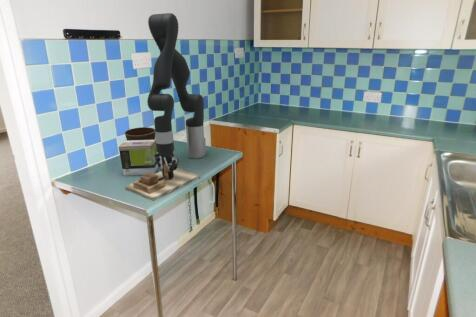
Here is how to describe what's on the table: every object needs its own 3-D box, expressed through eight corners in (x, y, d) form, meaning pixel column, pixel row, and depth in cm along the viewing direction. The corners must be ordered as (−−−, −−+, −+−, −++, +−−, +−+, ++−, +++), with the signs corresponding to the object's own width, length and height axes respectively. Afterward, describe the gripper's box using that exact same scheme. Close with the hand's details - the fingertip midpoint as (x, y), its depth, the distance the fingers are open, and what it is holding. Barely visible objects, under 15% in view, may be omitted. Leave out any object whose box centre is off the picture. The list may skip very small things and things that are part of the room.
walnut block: (167, 176, 145) (165, 161, 143) (174, 178, 142) (173, 164, 140) (141, 187, 135) (139, 172, 132) (149, 190, 132) (147, 174, 129)
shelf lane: (172, 168, 156) (172, 161, 155) (199, 177, 146) (199, 170, 145) (125, 188, 136) (124, 181, 135) (153, 200, 126) (152, 192, 125)
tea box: (159, 167, 158) (156, 138, 153) (155, 175, 149) (151, 145, 144) (128, 167, 158) (124, 139, 153) (122, 176, 149) (118, 146, 143)
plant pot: (149, 166, 159) (146, 136, 153) (123, 164, 162) (118, 134, 156) (163, 156, 172) (160, 128, 167) (138, 154, 176) (134, 126, 170)
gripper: (182, 141, 135) (185, 178, 141) (160, 135, 143) (164, 171, 149) (169, 146, 130) (172, 184, 136) (146, 140, 137) (151, 176, 144)
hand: (168, 177), depth 142 cm, fingers closed on walnut block, 3 cm apart
